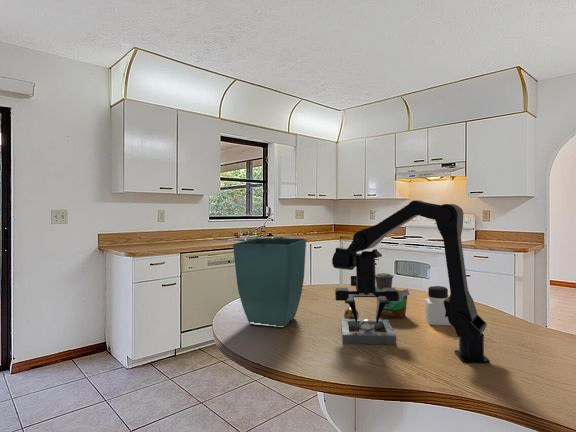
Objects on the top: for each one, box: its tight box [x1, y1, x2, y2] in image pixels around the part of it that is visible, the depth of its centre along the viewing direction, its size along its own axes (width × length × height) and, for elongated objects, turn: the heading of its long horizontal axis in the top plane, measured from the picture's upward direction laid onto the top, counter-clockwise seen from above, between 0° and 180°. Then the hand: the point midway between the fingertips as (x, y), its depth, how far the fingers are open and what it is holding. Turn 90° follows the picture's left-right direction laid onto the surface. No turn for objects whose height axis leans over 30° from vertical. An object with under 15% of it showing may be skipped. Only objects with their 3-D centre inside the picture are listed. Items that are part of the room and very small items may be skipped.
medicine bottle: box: [424, 285, 453, 327], centre depth 121 cm, size 7×7×12 cm
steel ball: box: [358, 318, 376, 333], centre depth 110 cm, size 5×5×5 cm
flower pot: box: [232, 237, 307, 327], centre depth 125 cm, size 20×20×28 cm
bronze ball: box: [343, 307, 360, 319], centre depth 123 cm, size 5×5×5 cm
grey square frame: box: [340, 318, 397, 346], centre depth 110 cm, size 15×15×2 cm
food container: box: [376, 286, 410, 320], centre depth 128 cm, size 12×6×10 cm, turn 62°
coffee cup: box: [375, 272, 394, 289], centre depth 156 cm, size 8×8×10 cm
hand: (366, 322), depth 110 cm, fingers open, 6 cm apart
